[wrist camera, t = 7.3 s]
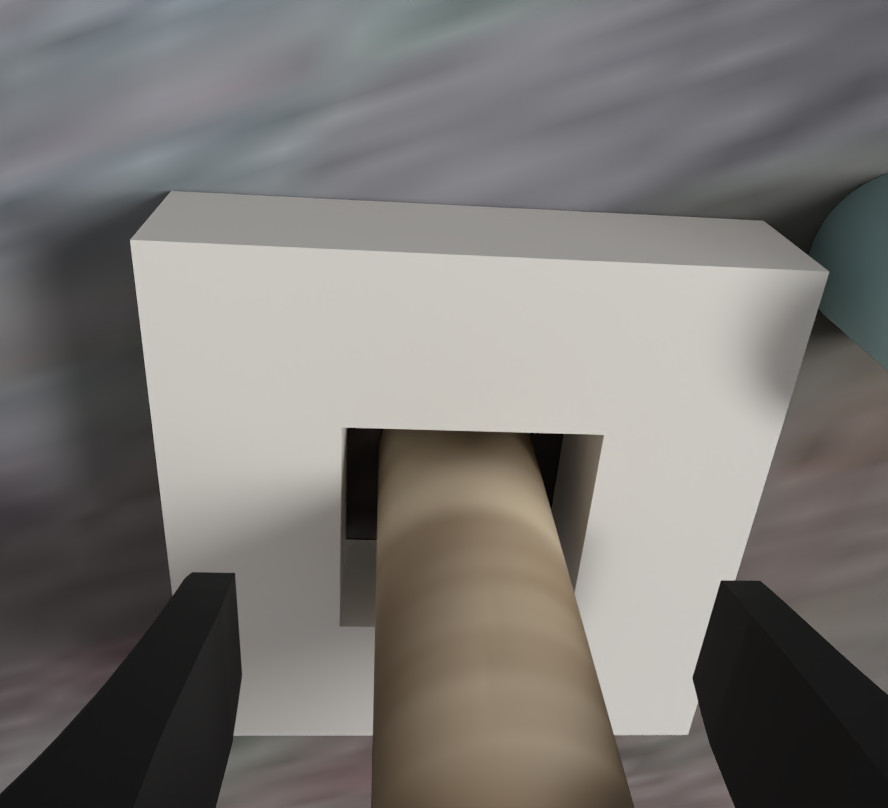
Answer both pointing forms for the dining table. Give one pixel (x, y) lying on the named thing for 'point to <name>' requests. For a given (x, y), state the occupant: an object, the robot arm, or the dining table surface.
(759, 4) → the dining table surface
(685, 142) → the dining table surface
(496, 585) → the long beech pin
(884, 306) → the short teal pin
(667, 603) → the collar block
